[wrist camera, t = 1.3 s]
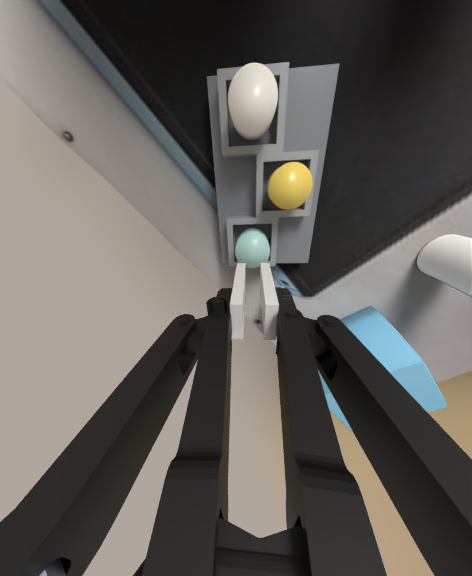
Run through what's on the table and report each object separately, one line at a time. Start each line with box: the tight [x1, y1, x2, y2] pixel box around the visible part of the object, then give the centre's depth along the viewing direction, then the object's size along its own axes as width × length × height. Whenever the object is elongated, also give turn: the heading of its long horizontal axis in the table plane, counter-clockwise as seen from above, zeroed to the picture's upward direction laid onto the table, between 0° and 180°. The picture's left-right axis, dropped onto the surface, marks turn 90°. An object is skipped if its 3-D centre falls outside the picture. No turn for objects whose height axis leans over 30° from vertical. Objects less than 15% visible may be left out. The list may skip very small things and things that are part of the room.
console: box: [207, 62, 339, 267], centre depth 25 cm, size 22×14×6 cm, turn 2°
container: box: [318, 306, 447, 431], centre depth 35 cm, size 17×25×15 cm
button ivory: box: [228, 63, 278, 140], centre depth 18 cm, size 4×4×4 cm
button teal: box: [235, 228, 270, 268], centre depth 25 cm, size 4×4×4 cm
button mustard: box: [267, 162, 313, 210], centre depth 21 cm, size 4×4×4 cm
